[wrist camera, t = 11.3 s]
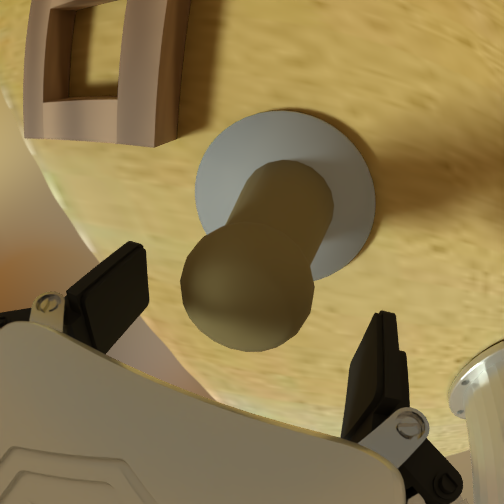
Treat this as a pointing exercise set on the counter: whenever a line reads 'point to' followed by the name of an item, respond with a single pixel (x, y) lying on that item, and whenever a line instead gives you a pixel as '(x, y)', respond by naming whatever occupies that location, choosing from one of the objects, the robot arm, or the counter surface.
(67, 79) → the frame
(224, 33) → the counter surface
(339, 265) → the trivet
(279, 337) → the cork
